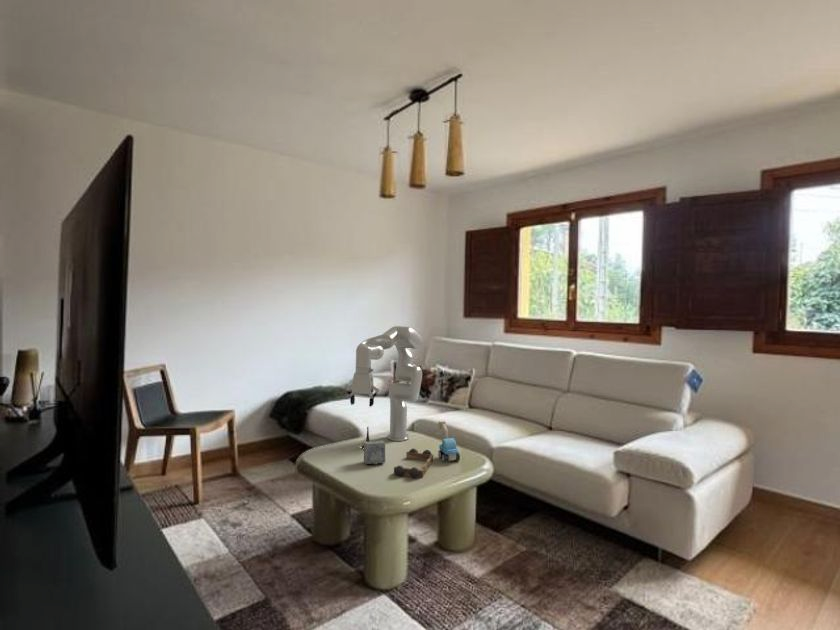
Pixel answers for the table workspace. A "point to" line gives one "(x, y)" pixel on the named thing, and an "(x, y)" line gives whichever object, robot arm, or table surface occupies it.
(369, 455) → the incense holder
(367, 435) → the eiffel tower figurine
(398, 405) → the robot arm
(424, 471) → the chassis bay
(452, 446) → the toy excavator
